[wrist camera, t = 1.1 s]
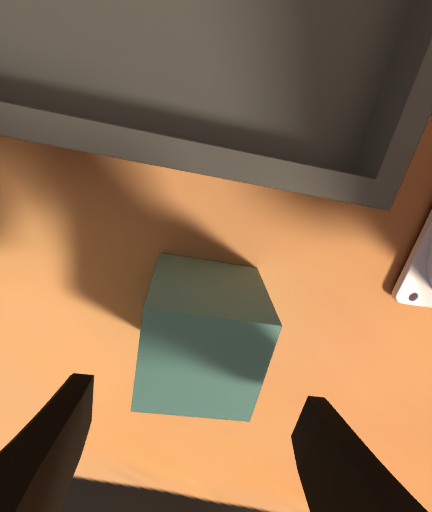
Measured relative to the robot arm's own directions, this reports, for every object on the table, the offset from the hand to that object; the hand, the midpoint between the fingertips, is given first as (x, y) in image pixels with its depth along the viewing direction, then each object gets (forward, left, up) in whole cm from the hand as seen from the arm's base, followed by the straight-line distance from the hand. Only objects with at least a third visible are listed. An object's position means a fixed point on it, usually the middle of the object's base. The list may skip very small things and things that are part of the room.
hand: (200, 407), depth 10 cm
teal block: (0, 0, -7) cm, 7 cm away
